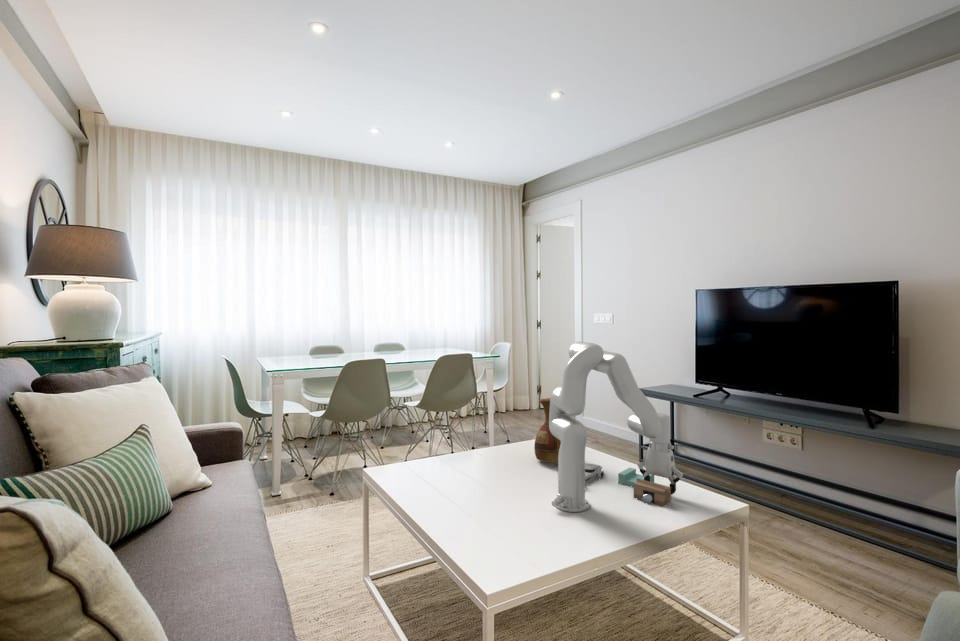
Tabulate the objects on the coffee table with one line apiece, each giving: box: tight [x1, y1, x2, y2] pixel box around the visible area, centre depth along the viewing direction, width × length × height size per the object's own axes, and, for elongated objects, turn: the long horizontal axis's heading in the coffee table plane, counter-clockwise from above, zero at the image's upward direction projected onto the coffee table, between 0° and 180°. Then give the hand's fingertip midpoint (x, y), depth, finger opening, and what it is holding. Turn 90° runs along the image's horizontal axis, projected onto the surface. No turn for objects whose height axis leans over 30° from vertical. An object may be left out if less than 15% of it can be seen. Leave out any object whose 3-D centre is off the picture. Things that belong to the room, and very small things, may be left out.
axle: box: [641, 492, 654, 505], centre depth 178 cm, size 14×3×3 cm, turn 134°
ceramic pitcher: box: [534, 397, 561, 464], centre depth 221 cm, size 20×20×30 cm
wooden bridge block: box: [633, 480, 672, 507], centre depth 177 cm, size 6×12×6 cm, turn 46°
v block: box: [617, 467, 655, 488], centre depth 194 cm, size 10×11×4 cm
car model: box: [585, 463, 605, 487], centre depth 199 cm, size 11×24×5 cm, turn 139°
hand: (659, 490), depth 181 cm, fingers open, 9 cm apart
